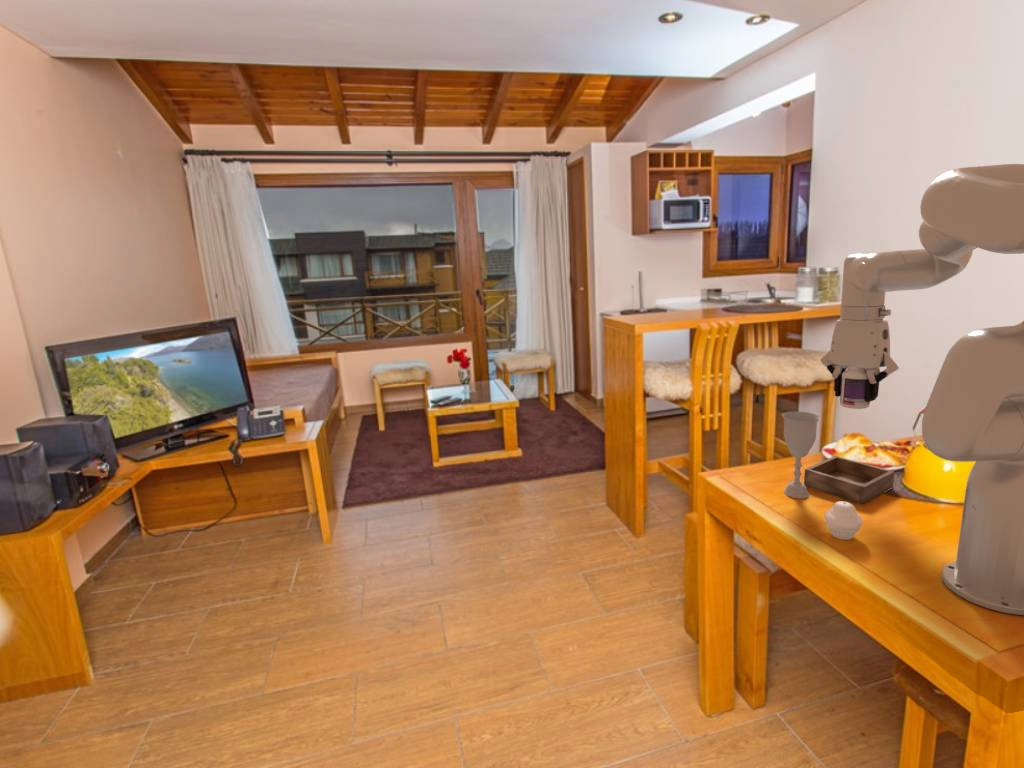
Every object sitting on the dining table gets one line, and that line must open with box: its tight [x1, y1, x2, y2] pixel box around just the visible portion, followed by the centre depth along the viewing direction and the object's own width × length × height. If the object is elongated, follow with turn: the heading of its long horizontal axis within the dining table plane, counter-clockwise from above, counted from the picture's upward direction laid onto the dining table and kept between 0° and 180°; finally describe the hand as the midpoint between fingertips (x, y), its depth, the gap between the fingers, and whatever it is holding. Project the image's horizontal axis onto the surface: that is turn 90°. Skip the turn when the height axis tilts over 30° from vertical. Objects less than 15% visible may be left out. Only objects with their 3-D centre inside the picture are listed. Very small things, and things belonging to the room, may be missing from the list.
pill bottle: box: [839, 367, 871, 410], centre depth 114 cm, size 5×5×10 cm
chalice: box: [781, 411, 821, 499], centre depth 116 cm, size 7×7×18 cm
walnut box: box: [803, 455, 896, 506], centre depth 119 cm, size 13×13×4 cm
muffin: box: [824, 500, 864, 541], centre depth 100 cm, size 6×6×7 cm
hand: (855, 397), depth 115 cm, fingers closed on pill bottle, 5 cm apart
